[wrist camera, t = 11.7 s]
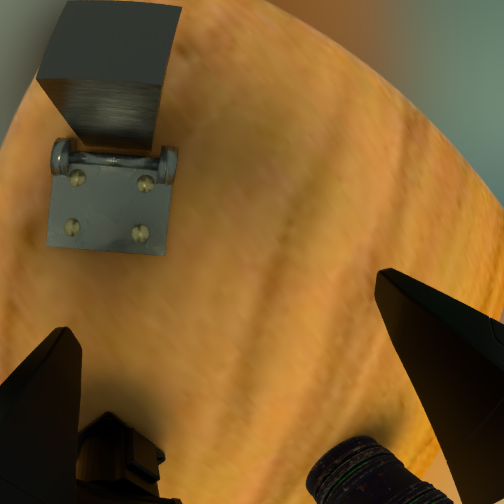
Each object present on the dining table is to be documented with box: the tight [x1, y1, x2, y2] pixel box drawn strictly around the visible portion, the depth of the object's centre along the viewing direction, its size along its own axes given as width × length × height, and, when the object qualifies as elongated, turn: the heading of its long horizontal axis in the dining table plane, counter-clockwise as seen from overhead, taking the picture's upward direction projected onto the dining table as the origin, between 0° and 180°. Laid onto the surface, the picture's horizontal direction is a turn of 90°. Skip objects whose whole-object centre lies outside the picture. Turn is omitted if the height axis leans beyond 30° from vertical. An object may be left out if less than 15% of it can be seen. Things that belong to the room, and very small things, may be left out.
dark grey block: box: [36, 0, 182, 152], centre depth 13 cm, size 4×4×11 cm
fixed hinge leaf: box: [47, 137, 178, 256], centre depth 17 cm, size 7×8×2 cm
